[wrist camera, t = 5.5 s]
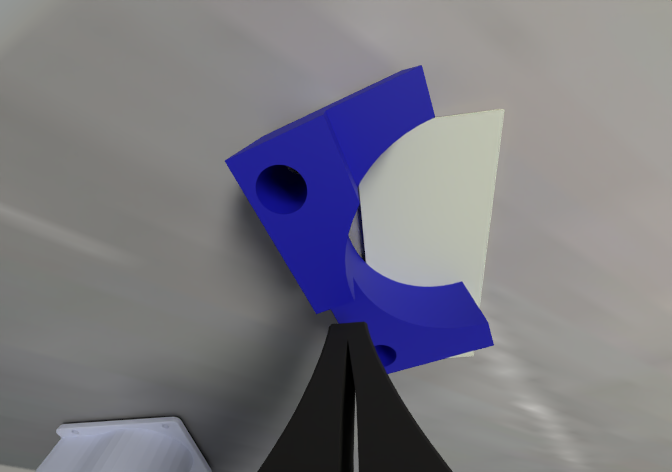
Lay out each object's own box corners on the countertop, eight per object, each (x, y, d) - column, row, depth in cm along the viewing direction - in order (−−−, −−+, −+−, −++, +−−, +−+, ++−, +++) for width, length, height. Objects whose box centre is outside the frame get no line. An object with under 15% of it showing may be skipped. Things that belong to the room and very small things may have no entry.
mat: (375, 359, 18) (375, 363, 18) (353, 128, 12) (353, 129, 12) (471, 352, 18) (473, 356, 18) (500, 109, 12) (504, 109, 12)
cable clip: (224, 161, 8) (437, 60, 7) (262, 136, 12) (401, 70, 11) (373, 408, 13) (511, 374, 12) (365, 332, 17) (467, 301, 16)
